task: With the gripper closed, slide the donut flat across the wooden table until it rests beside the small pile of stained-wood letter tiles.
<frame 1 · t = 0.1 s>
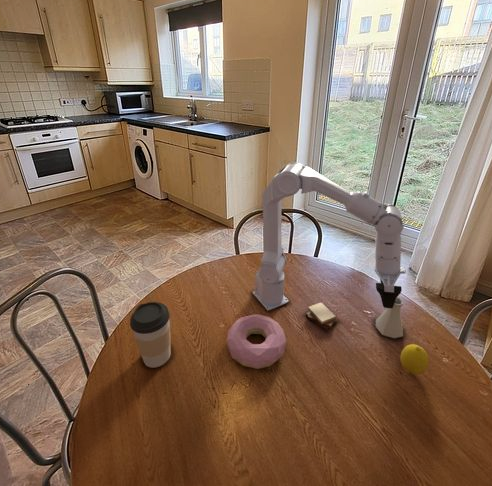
hand: (387, 297, 78), 11 cm above the table, tool pointing down, fingers open, 7 cm apart
donut: (256, 346, 77), on the table
lemon: (409, 371, 70), on the table
coffee cup: (157, 355, 74), on the table
flask: (388, 328, 82), on the table
letter pile: (321, 318, 85), on the table
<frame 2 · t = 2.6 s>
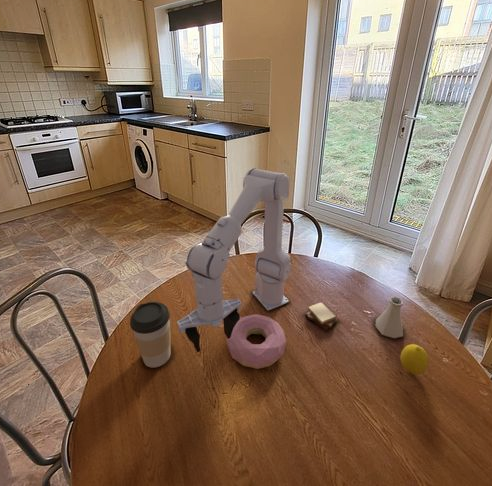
hand: (212, 341, 68), 8 cm above the table, tool pointing down, fingers open, 7 cm apart
nothing on the table moved.
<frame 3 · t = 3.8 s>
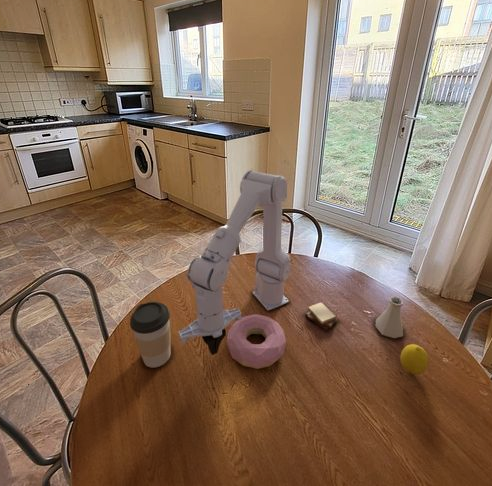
hand: (213, 351, 69), 5 cm above the table, tool pointing down, fingers closed
nothing on the table moved.
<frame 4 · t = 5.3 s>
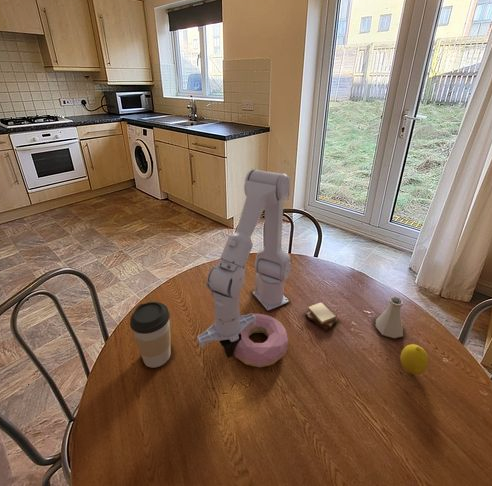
hand: (228, 354, 72), 2 cm above the table, tool pointing down, fingers closed
donut: (258, 345, 77), on the table, touching gripper
everything else where it was.
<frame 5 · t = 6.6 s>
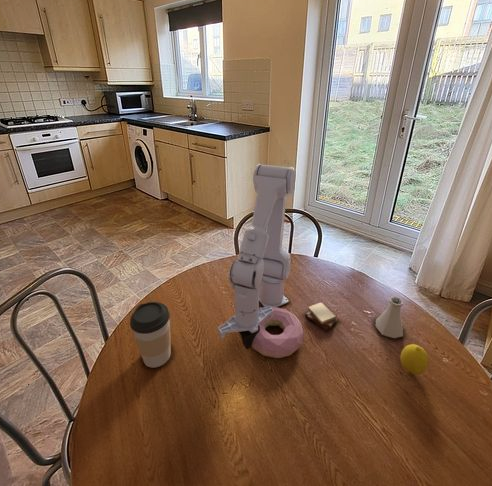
hand: (246, 345, 75), 2 cm above the table, tool pointing down, fingers closed
donut: (274, 338, 79), on the table, touching gripper
everything else where it was.
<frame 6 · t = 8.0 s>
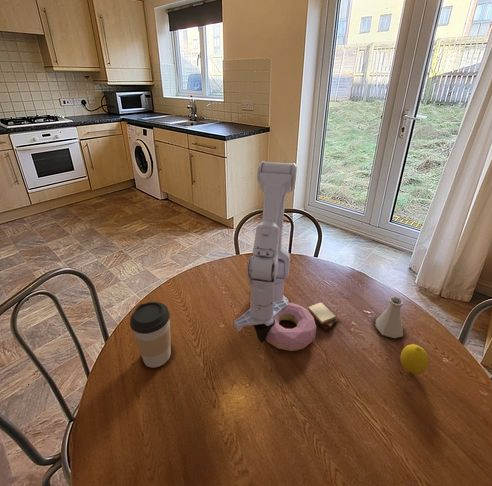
hand: (261, 338, 76), 2 cm above the table, tool pointing down, fingers closed
donut: (287, 332, 81), on the table, touching gripper
everything else where it was.
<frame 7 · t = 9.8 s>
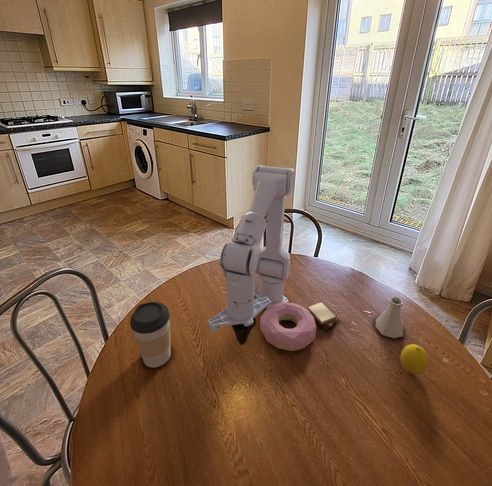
hand: (241, 341, 67), 9 cm above the table, tool pointing down, fingers closed
donut: (287, 332, 81), on the table
everything else where it was.
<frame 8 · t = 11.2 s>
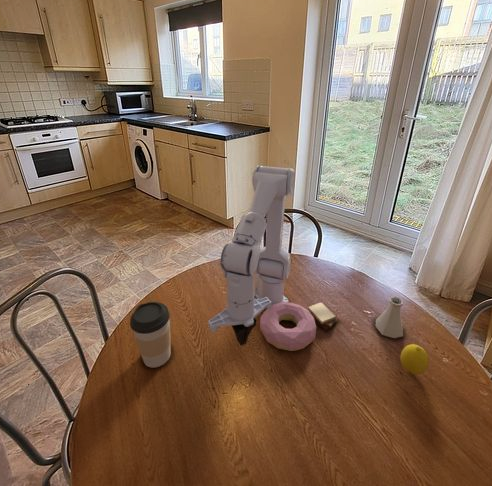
hand: (241, 341, 67), 9 cm above the table, tool pointing down, fingers closed
nothing on the table moved.
at the end: donut inside the target area (0.5 cm from its centre), on the table; donut moved 10.1 cm from its start; donut tilted 0° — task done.
